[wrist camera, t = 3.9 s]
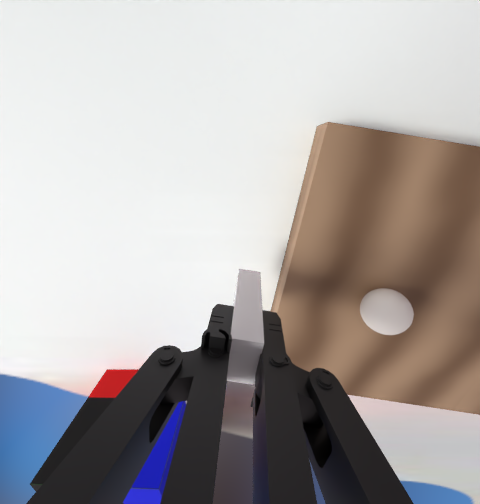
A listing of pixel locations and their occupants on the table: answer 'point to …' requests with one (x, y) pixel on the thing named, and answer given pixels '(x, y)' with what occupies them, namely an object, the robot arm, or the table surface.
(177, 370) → the robot arm
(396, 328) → the ball
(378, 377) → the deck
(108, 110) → the table surface
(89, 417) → the puzzle toy
